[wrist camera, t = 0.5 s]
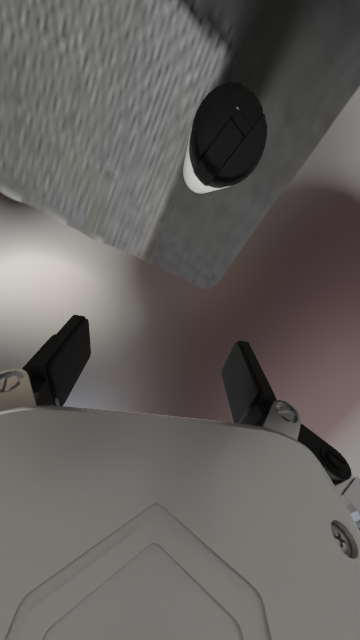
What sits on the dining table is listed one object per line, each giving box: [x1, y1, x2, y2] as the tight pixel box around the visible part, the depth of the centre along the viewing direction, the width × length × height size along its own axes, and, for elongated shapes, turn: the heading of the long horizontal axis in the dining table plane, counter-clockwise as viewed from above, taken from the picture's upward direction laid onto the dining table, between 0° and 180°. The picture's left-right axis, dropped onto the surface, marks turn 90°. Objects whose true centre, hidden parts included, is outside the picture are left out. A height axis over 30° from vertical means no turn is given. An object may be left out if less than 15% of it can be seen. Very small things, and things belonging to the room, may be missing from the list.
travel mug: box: [183, 82, 267, 194], centre depth 23 cm, size 6×7×20 cm
